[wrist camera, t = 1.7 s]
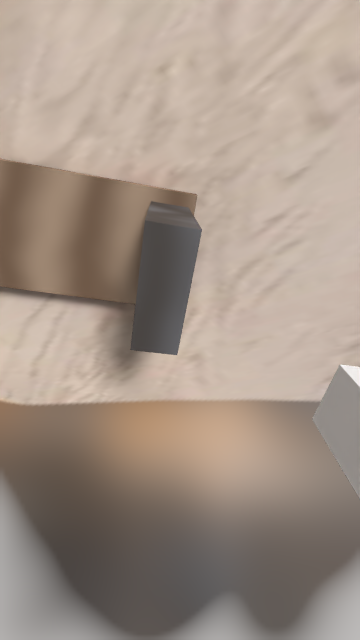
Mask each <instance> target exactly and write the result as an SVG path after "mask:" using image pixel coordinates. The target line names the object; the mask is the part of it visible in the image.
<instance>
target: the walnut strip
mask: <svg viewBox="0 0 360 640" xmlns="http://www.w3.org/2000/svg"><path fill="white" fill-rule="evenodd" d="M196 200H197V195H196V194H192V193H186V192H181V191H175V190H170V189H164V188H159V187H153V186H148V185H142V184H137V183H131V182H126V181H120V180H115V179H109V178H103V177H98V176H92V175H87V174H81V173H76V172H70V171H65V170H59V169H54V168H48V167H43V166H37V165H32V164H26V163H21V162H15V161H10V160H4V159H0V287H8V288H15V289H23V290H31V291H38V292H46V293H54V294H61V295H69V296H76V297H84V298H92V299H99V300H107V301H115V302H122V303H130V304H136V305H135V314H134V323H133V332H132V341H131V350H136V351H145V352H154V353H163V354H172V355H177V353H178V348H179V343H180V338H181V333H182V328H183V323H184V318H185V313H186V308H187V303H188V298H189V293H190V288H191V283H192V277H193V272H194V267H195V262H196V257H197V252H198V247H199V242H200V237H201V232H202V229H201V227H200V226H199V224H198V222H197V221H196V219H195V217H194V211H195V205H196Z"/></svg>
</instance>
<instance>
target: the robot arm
mask: <svg viewBox="0 0 360 640" xmlns="http://www.w3.org/2000/svg"><path fill="white" fill-rule="evenodd" d="M312 420H313V422H314V423H315V425H316V426H317V428H318V430H319V432H320V433H321V435H322V437H323V438H324V440H325V442H326V443H327V445H328V447H329V449H330V450H331V452H332V453H333V455H334V457H335V459H336V460H337V462H338V464H339V465H340V467H341V469H342V470H343V472H344V474H345V476H346V477H347V479H348V481H349V482H350V484H351V486H352V487H353V489H354V491H355V492H356V494H357V496H358V497H359V499H360V368H359V367H356V366H347V365H339V367H338V369H337V371H336V373H335V375H334V377H333V379H332V381H331V383H330V385H329V387H328V389H327V391H326V393H325V395H324V397H323V398H322V400H321V402H320V404H319V406H318V408H317V410H316V412H315V414H314V416H313V418H312Z"/></svg>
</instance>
